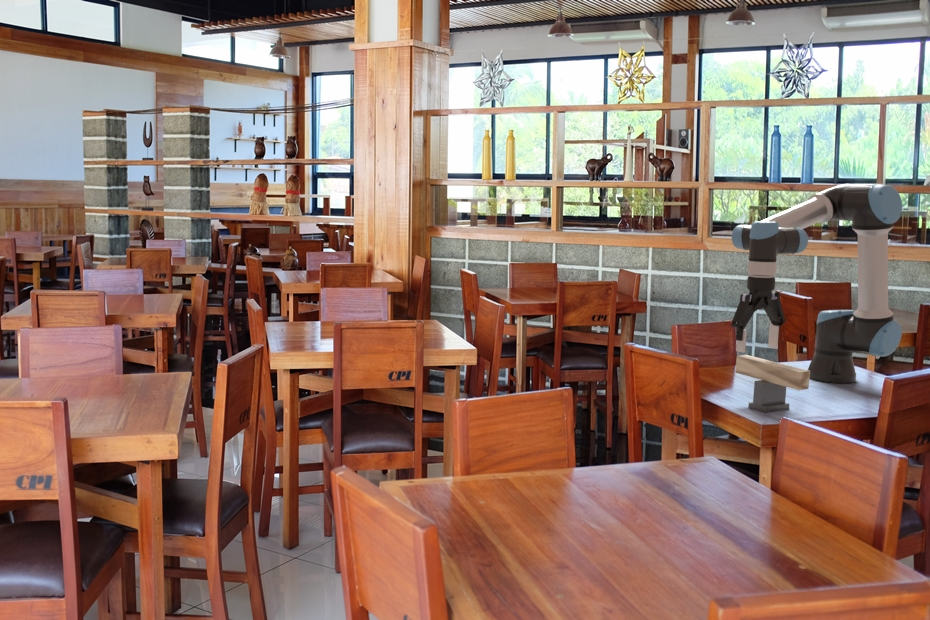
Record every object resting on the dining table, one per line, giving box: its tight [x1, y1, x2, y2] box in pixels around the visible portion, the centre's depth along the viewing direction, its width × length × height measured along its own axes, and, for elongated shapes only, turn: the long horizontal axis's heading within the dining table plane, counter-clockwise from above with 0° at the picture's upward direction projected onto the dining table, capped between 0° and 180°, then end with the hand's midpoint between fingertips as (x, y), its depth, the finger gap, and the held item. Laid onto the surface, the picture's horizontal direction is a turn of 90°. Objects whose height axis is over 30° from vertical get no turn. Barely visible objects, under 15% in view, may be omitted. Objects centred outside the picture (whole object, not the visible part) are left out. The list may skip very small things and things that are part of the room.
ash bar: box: [735, 354, 811, 391], centre depth 256 cm, size 4×22×5 cm, turn 33°
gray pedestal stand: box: [747, 379, 790, 414], centre depth 257 cm, size 10×6×8 cm, turn 122°
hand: (756, 349), depth 261 cm, fingers open, 13 cm apart
